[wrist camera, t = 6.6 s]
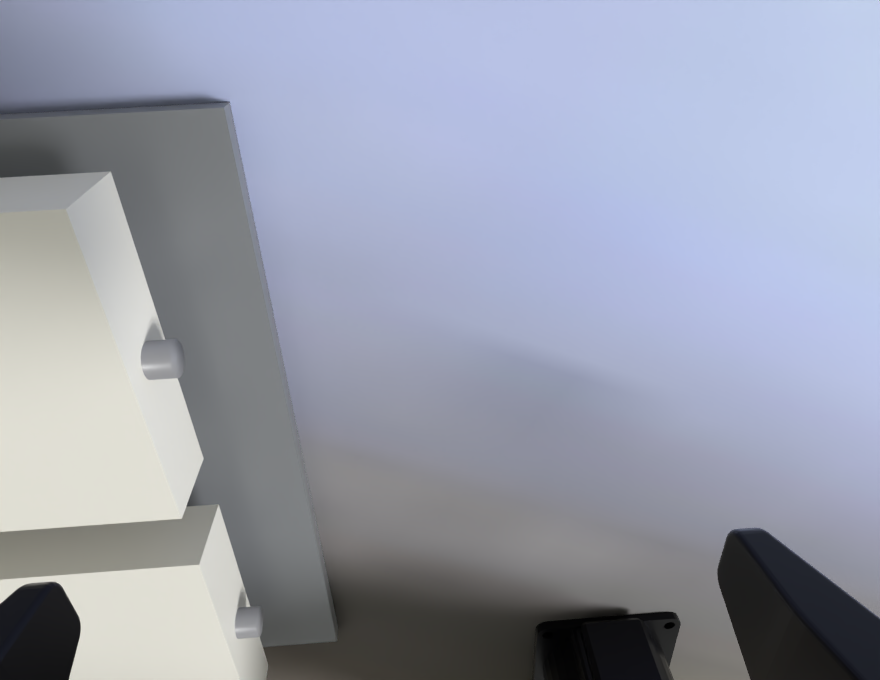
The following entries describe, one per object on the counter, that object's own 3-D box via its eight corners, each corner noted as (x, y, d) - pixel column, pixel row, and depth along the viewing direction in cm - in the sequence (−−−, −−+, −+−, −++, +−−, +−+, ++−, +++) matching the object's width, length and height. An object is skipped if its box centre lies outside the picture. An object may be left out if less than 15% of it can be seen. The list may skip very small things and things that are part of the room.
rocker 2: (286, 664, 25) (276, 726, 23) (-31, 690, 25) (-68, 755, 23) (240, 502, 21) (223, 563, 19) (-150, 530, 20) (-211, 595, 18)
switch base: (339, 616, 28) (336, 645, 27) (-28, 644, 28) (-47, 676, 27) (234, 97, 17) (222, 109, 15) (-404, 131, 16) (-468, 146, 15)
